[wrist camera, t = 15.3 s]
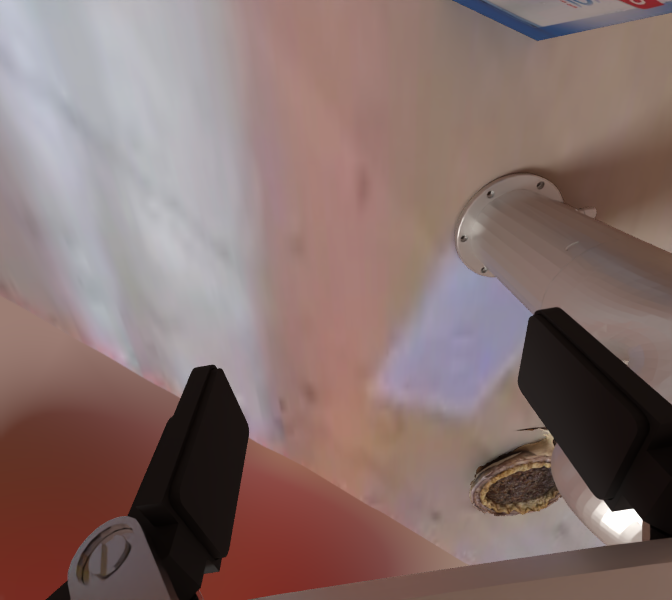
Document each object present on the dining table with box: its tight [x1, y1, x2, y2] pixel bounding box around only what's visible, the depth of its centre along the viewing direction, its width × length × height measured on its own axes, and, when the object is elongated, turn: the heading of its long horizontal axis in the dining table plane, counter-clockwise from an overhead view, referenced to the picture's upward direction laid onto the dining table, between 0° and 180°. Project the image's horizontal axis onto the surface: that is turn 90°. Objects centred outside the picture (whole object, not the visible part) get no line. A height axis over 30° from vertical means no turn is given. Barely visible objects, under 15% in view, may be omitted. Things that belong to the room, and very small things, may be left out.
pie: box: [469, 428, 562, 516], centre depth 68 cm, size 28×27×5 cm
